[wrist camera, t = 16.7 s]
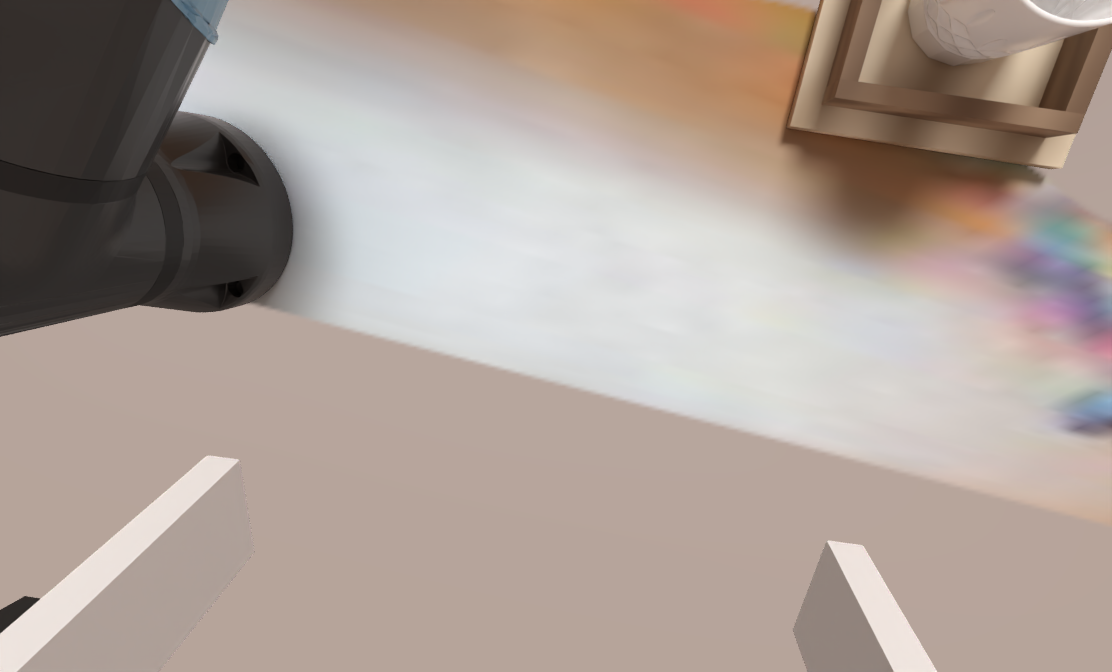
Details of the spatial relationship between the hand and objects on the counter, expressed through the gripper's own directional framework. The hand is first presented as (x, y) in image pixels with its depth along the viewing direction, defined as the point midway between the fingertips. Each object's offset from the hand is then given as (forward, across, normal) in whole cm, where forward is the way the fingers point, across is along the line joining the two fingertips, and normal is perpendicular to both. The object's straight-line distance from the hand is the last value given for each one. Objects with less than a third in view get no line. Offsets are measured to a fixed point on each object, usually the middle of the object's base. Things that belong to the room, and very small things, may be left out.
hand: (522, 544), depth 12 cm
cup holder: (+30, +21, +17) cm, 40 cm away
